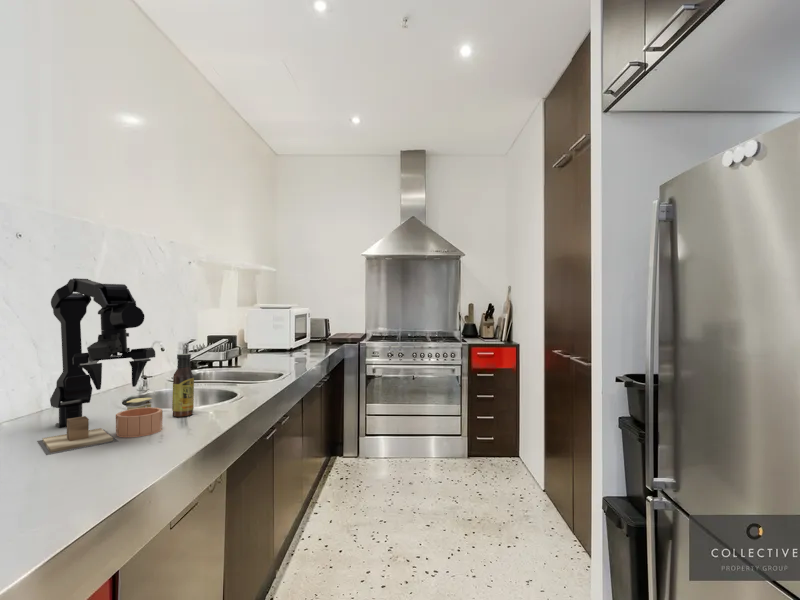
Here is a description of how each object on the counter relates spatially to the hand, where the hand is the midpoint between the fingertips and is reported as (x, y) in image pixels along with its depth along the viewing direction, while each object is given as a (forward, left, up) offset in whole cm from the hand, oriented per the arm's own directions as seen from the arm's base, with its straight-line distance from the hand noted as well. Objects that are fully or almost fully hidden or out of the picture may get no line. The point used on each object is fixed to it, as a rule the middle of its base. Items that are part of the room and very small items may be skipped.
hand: (116, 388), depth 120 cm
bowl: (-2, +6, -14) cm, 15 cm away
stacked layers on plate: (-24, +12, -14) cm, 30 cm away
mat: (-4, -8, -14) cm, 16 cm away
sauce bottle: (-14, +22, -14) cm, 30 cm away
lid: (-4, -8, -13) cm, 16 cm away
